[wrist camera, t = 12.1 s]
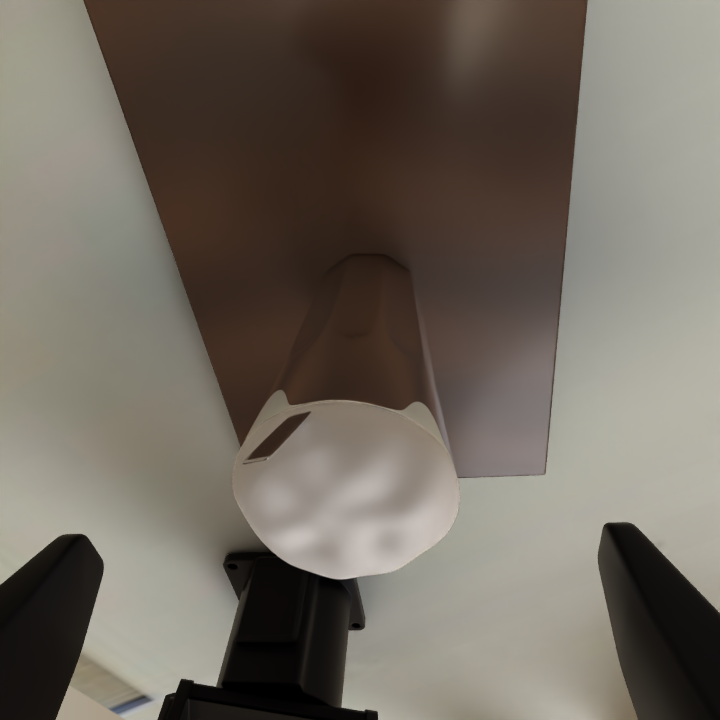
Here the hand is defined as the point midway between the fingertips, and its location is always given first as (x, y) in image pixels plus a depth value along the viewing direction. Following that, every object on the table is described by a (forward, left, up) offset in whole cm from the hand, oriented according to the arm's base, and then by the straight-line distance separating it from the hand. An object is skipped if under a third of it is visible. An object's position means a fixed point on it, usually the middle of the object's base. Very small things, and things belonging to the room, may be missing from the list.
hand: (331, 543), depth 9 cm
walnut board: (0, 0, -11) cm, 11 cm away
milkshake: (0, 0, -10) cm, 10 cm away
